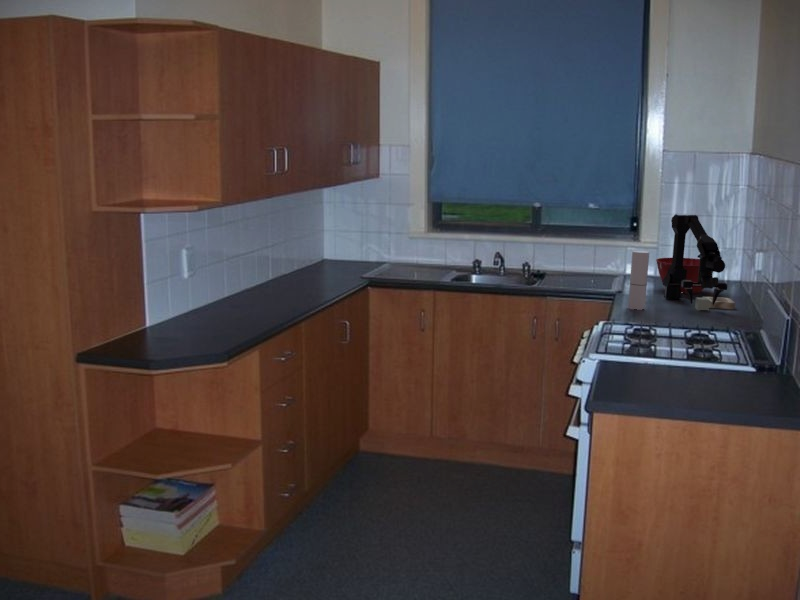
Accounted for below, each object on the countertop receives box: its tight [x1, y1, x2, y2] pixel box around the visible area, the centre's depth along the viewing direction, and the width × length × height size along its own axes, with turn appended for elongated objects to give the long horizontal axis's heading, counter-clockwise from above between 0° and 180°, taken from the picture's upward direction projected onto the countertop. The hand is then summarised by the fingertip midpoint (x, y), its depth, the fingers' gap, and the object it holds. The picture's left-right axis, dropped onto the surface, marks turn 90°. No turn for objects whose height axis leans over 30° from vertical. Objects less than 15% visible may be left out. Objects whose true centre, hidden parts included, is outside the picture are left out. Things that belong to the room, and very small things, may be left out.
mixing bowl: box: [655, 257, 714, 294], centre depth 439 cm, size 28×28×16 cm
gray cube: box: [694, 297, 710, 312], centre depth 394 cm, size 5×5×5 cm
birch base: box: [701, 296, 736, 310], centre depth 404 cm, size 12×12×3 cm
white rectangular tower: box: [627, 250, 650, 311], centre depth 390 cm, size 7×7×25 cm
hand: (702, 304), depth 394 cm, fingers open, 9 cm apart
